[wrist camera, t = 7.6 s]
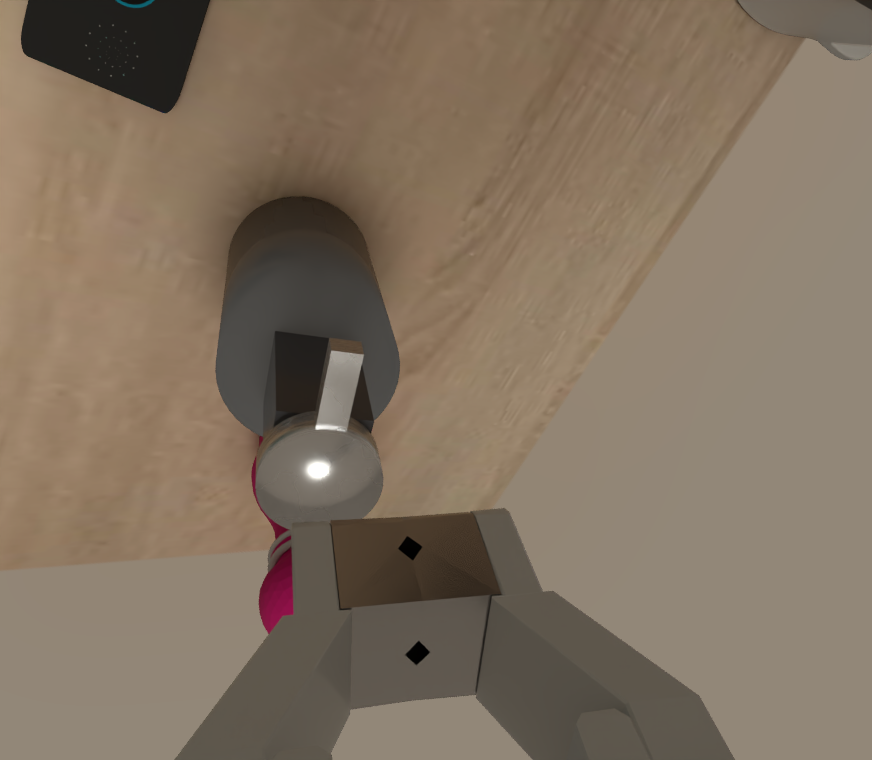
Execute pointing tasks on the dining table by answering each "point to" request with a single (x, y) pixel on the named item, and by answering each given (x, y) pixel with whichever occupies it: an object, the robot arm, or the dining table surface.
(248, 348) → the dispenser
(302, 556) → the robot arm
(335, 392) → the pump head
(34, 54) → the smart home device
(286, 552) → the pepper mill
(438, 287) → the dining table surface
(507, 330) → the dining table surface
